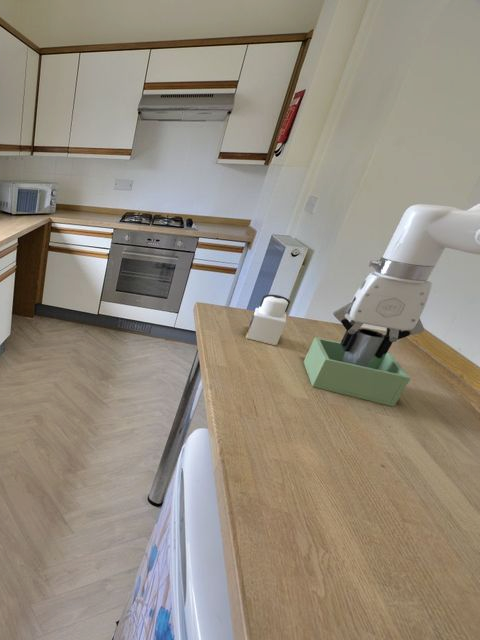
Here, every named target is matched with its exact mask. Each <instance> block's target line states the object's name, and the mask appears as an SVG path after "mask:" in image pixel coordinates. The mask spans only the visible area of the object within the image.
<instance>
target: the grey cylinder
mask: <svg viewBox="0 0 480 640" xmlns="http://www.w3.org/2000/svg"><path fill="white" fill-rule="evenodd" d="M356 335H357V337H356V339H355V341H354V343H353V345H352V347H351V349H350V351H348V352H347V351H346V352H345V354H344V356H343V358H342V360H341V362H345V363H350V364H354V365H359V366H363V367H369V366H370V364H371V362H372V360H373V358H374V356H375V354H376V353H377V351H378V349H379V347H380V345H381V343H382V341H383V340H384V338H385V335H386V334H383V333H382V332H380V331H376V330H374V329H370V328H359V329H358V330H357V331H356Z"/></svg>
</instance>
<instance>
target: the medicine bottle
mask: <svg viewBox="0 0 480 640" xmlns="http://www.w3.org/2000/svg"><path fill="white" fill-rule="evenodd" d="M290 304H291V301H290V299H288V298H287V297H285V296H283V295H280V294H279V295H278V294H266V295H263V296H262V299H261V301H260V304H259V306H258V307H256V308H255V309H254V311H253V315H252V317H251V319H250V322H249V324H248V328H247V331H246V334H245V339H247V340H251V341H255V342H258V343H263V344H268V345H271V346H278V343H279V341H280V339H281V336H282V333H283V331H284V328H285V326H286V324H287V312H288V309H289V308H290V307H289V306H290Z"/></svg>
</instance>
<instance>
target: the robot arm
mask: <svg viewBox="0 0 480 640" xmlns="http://www.w3.org/2000/svg"><path fill="white" fill-rule="evenodd" d="M446 248H447V249H450V250H454V251H460V252H463V253H467V254H472V255H477V256H478V255H479V256H480V203H478V204H475V205H474V206H472V207H470V208H468V209H466V210H465V209H464V210H463V209H460V208H458V207H454V206H449V205H442V204H441V205H440V204H428V203H427V204H426V203H417V204H413V205H411V206H409V207H408V208H407V209H405V211H404V212H403V214H402V216H401V218H400V221H399V223H398V225H397V227H396V229H395V231H394V233H393V235H392V237H391V239H390V241H389V243H388V245H387V247H386V248H385V251H384V254H383V255H382V257H380V258H379V259H377V260H373V259H372V260H370V262H369V264H368V267H369V268H372V269H374V271H371V272H370V273H369V274H368V275H367V276H366V278H365V279H364V280H363V282H362V283H361V284H360V286H359V287H358V289H357V290H356V292H355V293H354V295H353V297H352V299H351V301H350V302H348V303H347V304H345V305H343V306H342V307H340V308H339V309H337V310H334V312H332V315H333V316H334V317H335V318H336V319H337V321H338V322H340V324H341V325H342V326H343V327H344V329H345V330H346V331H345V332H344V335H343V337H342V339H341V341H340V342H341V345H342V348H343V349H344V351H347V352H348V351H350V349H351V347H352V345H353V343H354V341H355V339H356V337H357V335H356V331H357V330H358V329H361V328H362V326H363V325H369V326H374V327H380V328H385V334H384V335H385V338H384V340H383V341H382V343H381V345H380V347H379V349H378V351H377V353H376V354H375V356H376V357H377V358H381V357H382V356H383V354H386V353H387V352H389V351H390V348H391V347H392V345H393V343H396V342H397V341H398V340H401V339H403V338H406V337H409V336H411V335H416V334H420V333H424V332H425V327H424V325H423V323H422V320H421V316H422V314H423V312H424V310H425V307H426V305H427V303H428V299H429V296H430V293H431V290H432V286H433V283H432V281H429V280H428V279H429V278H430V276H431V274H432V272H433V271H434V269H435V267H436V266H437V264H438V262H439V260H440V258H441V257H442V254H443V253H444V251H445V249H446ZM345 315H348V316H349V318H350V319H351V320H350V321H349V319H348V318H347V317H346V316H345Z"/></svg>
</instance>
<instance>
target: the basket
mask: <svg viewBox="0 0 480 640" xmlns="http://www.w3.org/2000/svg"><path fill="white" fill-rule="evenodd" d="M345 352H346V351H344V349H343V348H342V345H341V341H335V340H330V339H325V338H320V337H315V336H314V338H313V341H312V343H311V345H310V346H309V349H308V352H307V354H306V356H305V358H304V360H303V365H304V367H305V370H306V373H307V376H308V379H309V381H310V384H311V387H313V388H316V389H321V390H325V391H327V392H328V391H329V392H331V393H332V392H333V393H336V394H341V395H345V396H348V397H354V398H357V399H360V400H361V399H362V400H364V401H365V400H366V401H369V402H373V403H378V404H382V405H385V406H390V407H394V408H395V405H397V402H398V400H399V399H400V397H401V395H402V394H403V392H404V390H405V389H406V388H407V385H409V382H410V381H411V379H412V378H411V376H410V375H409V374H408V373H407V372H406V371H405V369H404V368H403V366H401V364H400V363H399V362H398V360H397V359H396V358H395V357H394V356H393V355H392V353H391V352H389V351H388V352H387V353H386V354H383V356H382V357H381V358H377V357H376V356H374V358H373V360H372V362H371V364H370V366H369V367H363V366H359V365H354V364H350V363H345V362H341V360H342V358H343V356H344V354H345Z"/></svg>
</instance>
